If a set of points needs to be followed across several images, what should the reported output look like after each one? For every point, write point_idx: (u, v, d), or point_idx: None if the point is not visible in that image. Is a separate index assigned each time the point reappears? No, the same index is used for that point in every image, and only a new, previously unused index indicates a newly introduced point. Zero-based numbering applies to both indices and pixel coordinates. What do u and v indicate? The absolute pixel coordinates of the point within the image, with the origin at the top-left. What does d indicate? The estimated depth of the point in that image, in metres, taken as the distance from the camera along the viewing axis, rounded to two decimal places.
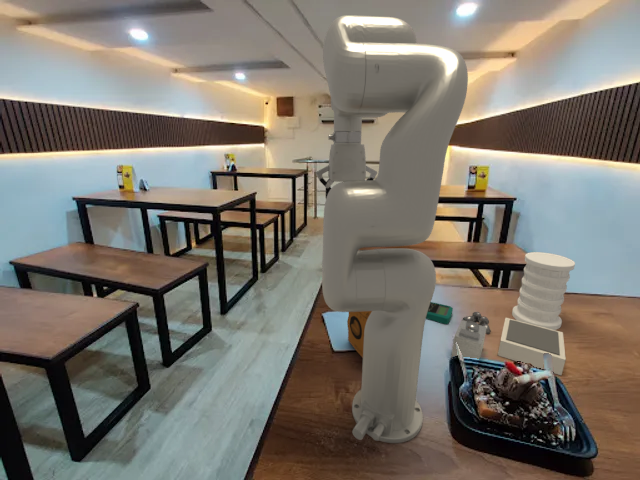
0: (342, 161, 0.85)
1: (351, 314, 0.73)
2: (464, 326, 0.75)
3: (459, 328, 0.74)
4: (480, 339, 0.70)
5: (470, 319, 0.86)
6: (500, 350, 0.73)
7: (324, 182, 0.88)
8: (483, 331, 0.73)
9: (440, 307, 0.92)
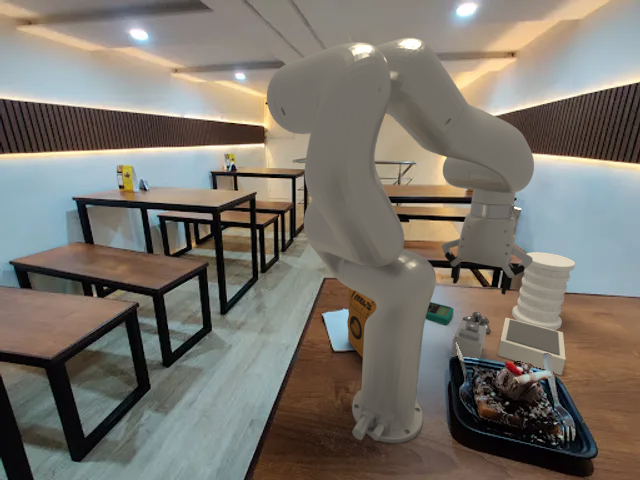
0: None
1: (351, 314, 0.73)
2: (464, 326, 0.75)
3: (459, 328, 0.74)
4: (480, 339, 0.70)
5: (470, 319, 0.86)
6: (500, 350, 0.73)
7: None
8: (483, 331, 0.73)
9: (441, 307, 0.91)
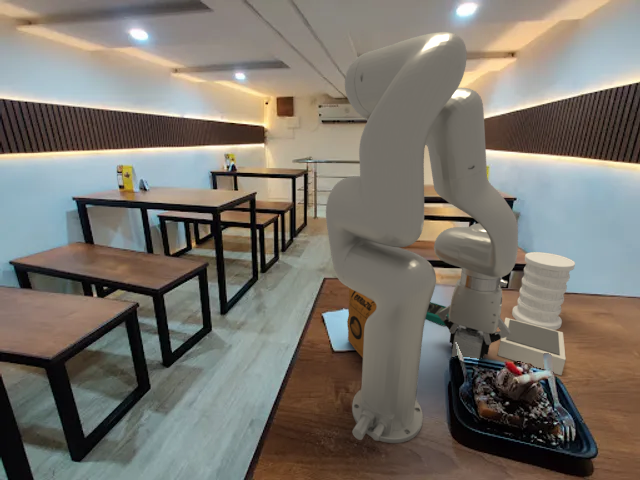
0: None
1: (351, 314, 0.73)
2: None
3: (459, 328, 0.74)
4: (480, 339, 0.70)
5: None
6: (500, 350, 0.73)
7: None
8: None
9: (441, 308, 0.91)
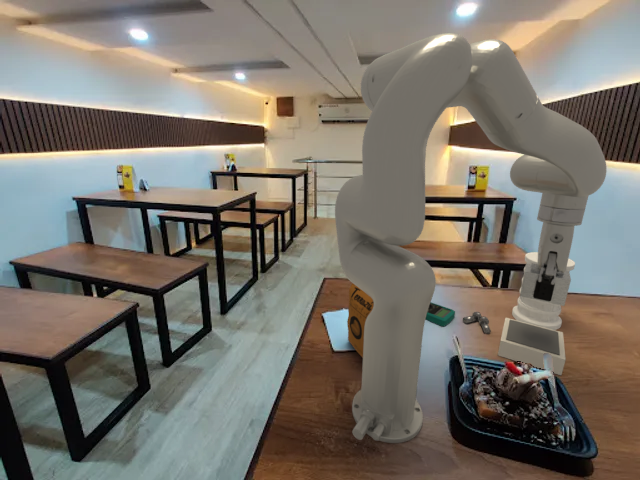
0: None
1: (351, 314, 0.73)
2: None
3: (545, 267, 0.71)
4: (534, 272, 0.68)
5: (470, 319, 0.86)
6: (500, 350, 0.73)
7: None
8: (556, 276, 0.66)
9: (442, 309, 0.90)
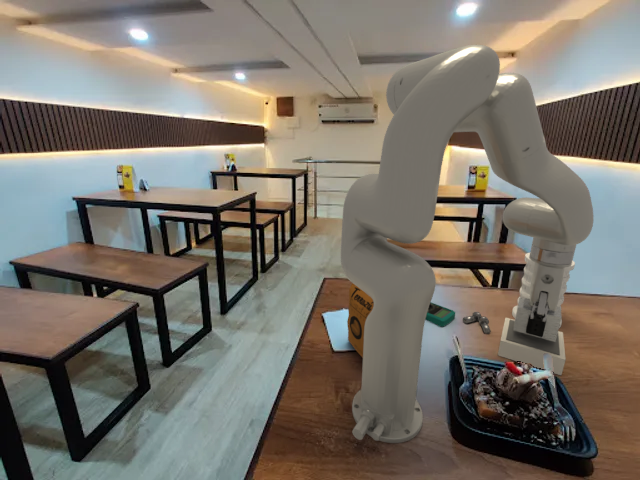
0: None
1: (351, 314, 0.73)
2: None
3: None
4: (526, 308, 0.71)
5: (470, 319, 0.86)
6: (500, 350, 0.73)
7: None
8: (547, 313, 0.69)
9: (442, 310, 0.90)
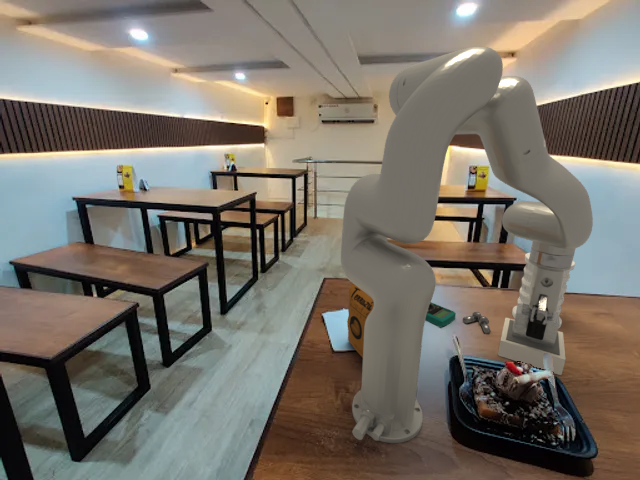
0: None
1: (351, 314, 0.73)
2: None
3: None
4: (525, 314, 0.71)
5: (470, 319, 0.86)
6: (500, 350, 0.73)
7: (543, 319, 0.66)
8: None
9: (443, 310, 0.90)
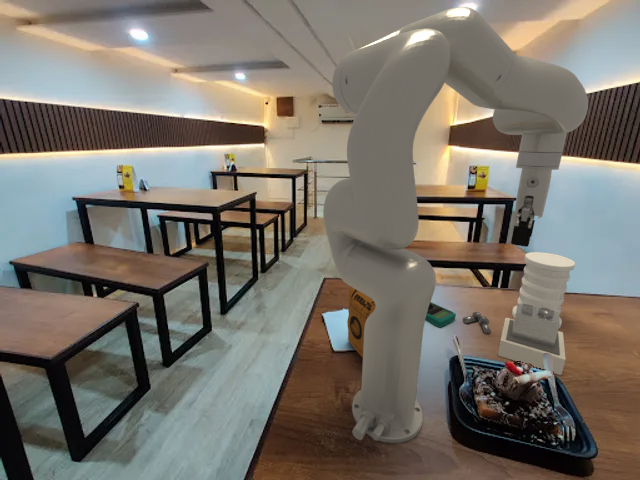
0: (547, 191, 0.64)
1: (351, 314, 0.73)
2: None
3: None
4: (525, 314, 0.71)
5: (470, 319, 0.86)
6: (500, 350, 0.73)
7: (528, 221, 0.64)
8: (545, 319, 0.69)
9: (443, 311, 0.89)
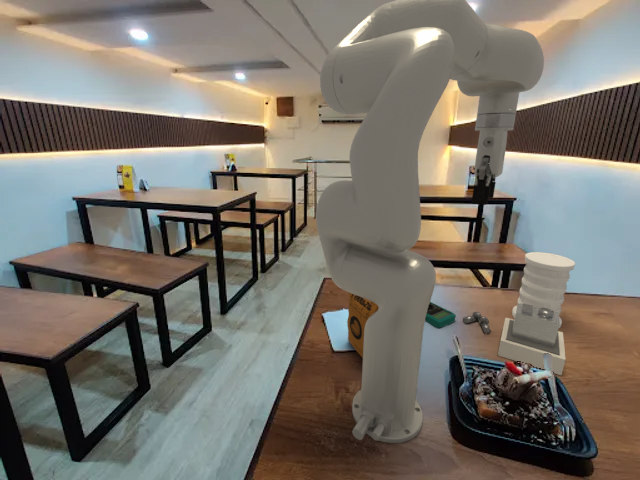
0: (503, 151, 0.68)
1: (351, 314, 0.73)
2: None
3: None
4: (525, 314, 0.71)
5: (470, 319, 0.86)
6: (500, 350, 0.73)
7: (486, 179, 0.67)
8: (545, 319, 0.69)
9: (443, 312, 0.89)
